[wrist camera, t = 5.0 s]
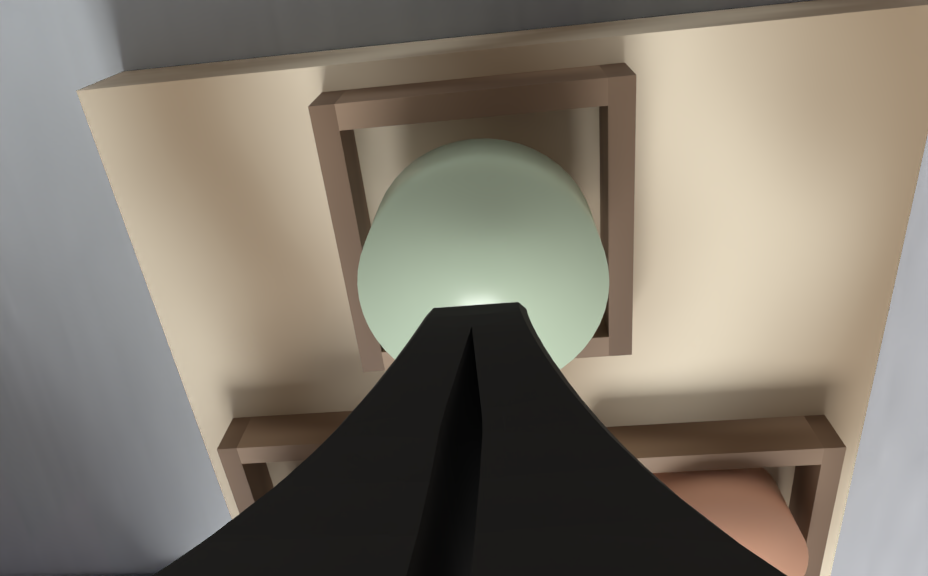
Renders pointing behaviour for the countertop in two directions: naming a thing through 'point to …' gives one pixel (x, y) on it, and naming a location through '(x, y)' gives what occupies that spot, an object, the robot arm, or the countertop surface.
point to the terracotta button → (745, 512)
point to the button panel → (610, 201)
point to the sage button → (485, 245)
